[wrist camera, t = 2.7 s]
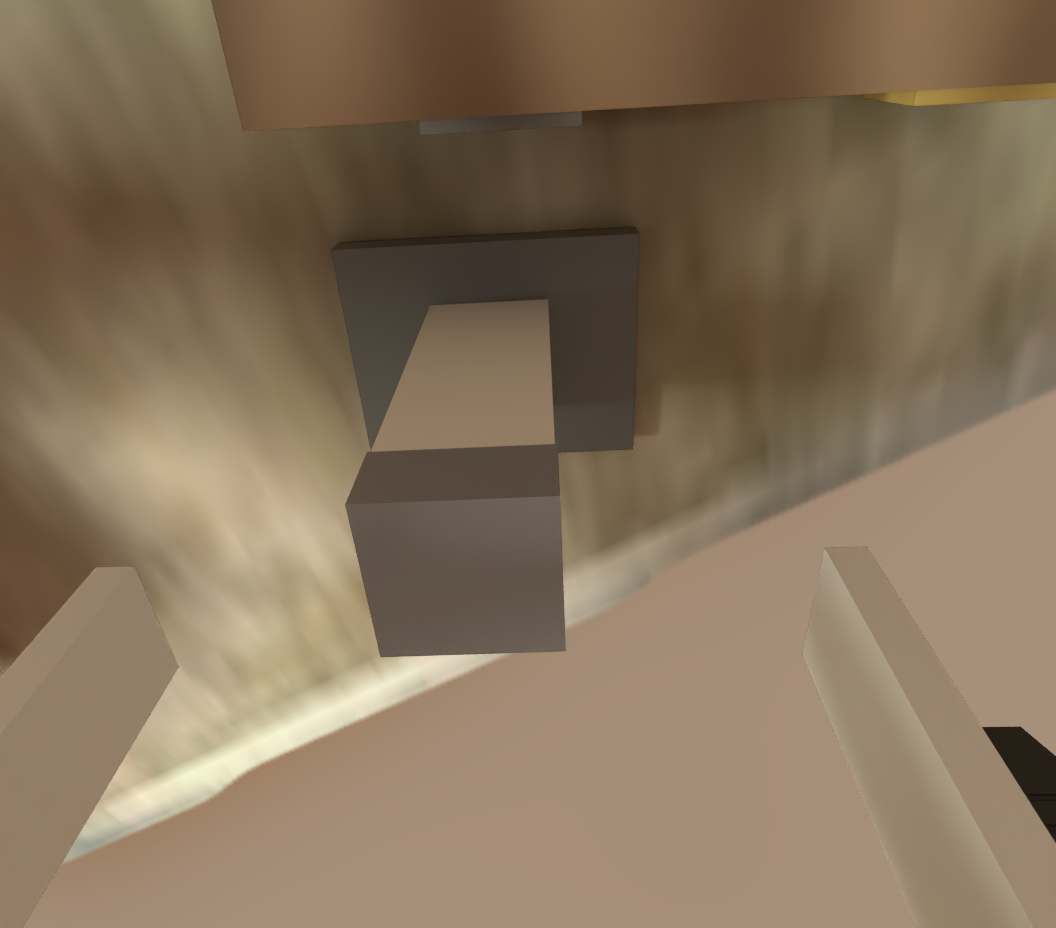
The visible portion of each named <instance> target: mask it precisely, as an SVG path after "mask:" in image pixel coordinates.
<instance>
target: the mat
mask: <svg viewBox="0 0 1056 928" xmlns="http://www.w3.org/2000/svg"><path fill="white" fill-rule="evenodd" d="M638 250H639V233H638V231H637V229H636V227H622V228H603V229H584V230H566V231H547V232H528V233H509V234H491V235H472V236H453V237H435V238H416V239H397V240H379V241H360V242H341V243H338V244H337V245H336V246H335V247H334V248H333V249H332V250H331V251H332V257H333V262H334V267H335V272H336V277H337V282H338V287H339V292H340V297H341V302H342V307H343V312H344V317H345V322H346V327H347V332H348V337H349V342H350V347H351V352H352V357H353V362H354V368H355V373H356V378H357V383H358V388H359V393H360V398H361V403H362V408H363V413H364V418H365V423H366V428H367V433H368V438H369V443H370V448H371V450H372V447H373V445H374V442H375V440H376V438H377V435H378V433H379V430H380V428H381V425H382V423H383V420H384V418H385V415H386V413H387V411H388V408H389V406H390V403H391V401H392V398H393V396H394V393H395V391H396V388H397V386H398V383H399V381H400V379H401V376H402V374H403V371H404V369H405V366H406V364H407V361H408V359H409V356H410V354H411V351H412V349H413V347H414V344H415V342H416V339H417V337H418V334H419V332H420V329H421V327H422V324H423V322H424V319H425V317H426V315H427V312H428V310H429V307H430V305H444V304H464V303H484V302H504V301H524V300H544V299H548V310H549V331H550V352H551V373H552V394H553V415H554V436H555V444H557V449H558V452H582V451H606V450H630V449H633V428H634V393H635V357H636V321H637V285H638Z"/></svg>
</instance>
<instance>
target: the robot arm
mask: <svg viewBox="0 0 1056 928" xmlns="http://www.w3.org/2000/svg"><path fill="white" fill-rule="evenodd" d="M802 655H803V658H804V660H805V663H806V665H807V667H808V670H809V672H810V675H811V677H812V679H813V682H814V684H815V687H816V689H817V691H818V694H819V696H820V699H821V701H822V703H823V706H824V708H825V711H826V713H827V715H828V718H829V720H830V722H831V725H832V727H833V730H834V732H835V734H836V737H837V739H838V742H839V744H840V746H841V749H842V751H843V754H844V756H845V759H846V761H847V763H848V766H849V768H850V770H851V773H852V775H853V777H854V780H855V782H856V785H857V787H858V790H859V792H860V794H861V797H862V799H863V801H864V804H865V806H866V809H867V811H868V814H869V816H870V818H871V821H872V823H873V825H874V828H875V830H876V833H877V835H878V838H879V840H880V842H881V845H882V847H883V850H884V852H885V854H886V857H887V859H888V862H889V864H890V866H891V869H892V871H893V873H894V876H895V878H896V880H897V883H898V886H899V888H900V890H901V893H902V895H903V898H904V900H905V902H906V905H907V907H908V910H909V912H910V914H911V917H912V919H913V921H914V924H915V926H916V928H1056V756H1054V754H1052V753H1051V752H1050V751H1049V750H1048V749H1046V748H1045V747H1044V746H1042V744H1040V743H1039V742H1038V741H1037V740H1036V739H1034V738H1033V737H1032V736H1031V735H1030V734H1028V733H1027V732H1026V731H1025V730H1024V729H1022V728H1021V727H981V725H980V723H979V722H978V720H977V719H976V717H975V716H974V714H973V712H972V711H971V709H970V708H969V706H968V705H967V703H966V701H965V700H964V698H963V697H962V695H961V694H960V692H959V690H958V689H957V687H956V686H955V684H954V683H953V681H952V679H951V678H950V677H949V675H948V673H947V672H946V670H945V669H944V667H943V665H942V664H941V662H940V661H939V659H938V658H937V656H936V654H935V653H934V651H933V650H932V648H931V646H930V645H929V643H928V642H927V640H926V639H925V637H924V636H923V634H922V632H921V631H920V629H919V628H918V626H917V625H916V623H915V621H914V620H913V618H912V617H911V615H910V614H909V612H908V610H907V609H906V607H905V606H904V604H903V602H902V601H901V599H900V598H899V596H898V595H897V593H896V591H895V590H894V588H893V587H892V585H891V584H890V582H889V580H888V579H887V577H886V576H885V574H884V573H883V571H882V569H881V568H880V566H879V565H878V563H877V562H876V560H875V559H874V557H873V555H872V554H871V552H870V551H869V549H868V547H838V548H824V553H823V557H822V562H821V567H820V572H819V577H818V581H817V586H816V591H815V596H814V600H813V605H812V610H811V615H810V620H809V624H808V629H807V634H806V638H805V643H804V648H803V653H802ZM178 667H179V666H178V664H177V662H176V659H175V657H174V655H173V653H172V650H171V648H170V646H169V644H168V641H167V639H166V637H165V635H164V632H163V630H162V628H161V626H160V623H159V621H158V619H157V617H156V614H155V612H154V610H153V608H152V605H151V603H150V601H149V599H148V596H147V594H146V592H145V590H144V587H143V585H142V583H141V581H140V579H139V576H138V574H137V572H136V570H135V567H134V566H128V567H96V568H95V569H94V570H93V571H92V572H91V574H90V575H89V576H88V577H87V578H86V579H85V580H84V582H83V583H82V584H81V585H80V586H79V587H78V589H77V590H76V591H75V592H74V593H73V594H72V595H71V597H70V598H69V599H68V600H67V601H66V602H65V603H64V605H63V606H62V607H61V608H60V609H59V610H58V612H57V613H56V614H55V615H54V616H53V617H52V618H51V620H50V621H49V622H48V623H47V624H46V625H45V627H44V628H43V629H42V630H41V631H40V632H39V633H38V635H37V636H36V637H35V638H34V639H33V640H32V642H31V643H30V644H29V645H28V646H27V647H26V648H25V650H24V651H23V652H22V653H21V654H20V655H19V656H18V658H17V659H16V660H15V661H14V662H13V663H12V665H11V666H10V667H9V668H8V669H7V670H6V671H5V673H4V674H3V675H2V676H1V677H0V928H23V927H24V926H25V924H26V922H27V920H28V919H29V917H30V916H31V914H32V912H33V910H34V909H35V907H36V905H37V904H38V902H39V900H40V899H41V897H42V895H43V894H44V892H45V890H46V889H47V887H48V885H49V884H50V881H51V880H52V879H53V877H54V875H55V874H56V872H57V870H58V869H59V867H60V865H61V863H62V862H63V860H64V858H65V857H66V855H67V853H68V852H69V850H70V848H71V847H72V845H73V843H74V842H75V840H76V838H77V837H78V835H79V833H80V832H81V830H82V828H83V827H84V825H85V823H86V822H87V820H88V818H89V816H90V815H91V813H92V811H93V810H94V808H95V806H96V805H97V803H98V801H99V800H100V798H101V796H102V795H103V793H104V791H105V790H106V788H107V786H108V785H109V783H110V781H111V780H112V778H113V776H114V774H115V773H116V771H117V769H118V768H119V766H120V764H121V763H122V761H123V759H124V758H125V756H126V754H127V753H128V751H129V749H130V748H131V746H132V744H133V743H134V741H135V739H136V738H137V736H138V734H139V733H140V731H141V729H142V727H143V726H144V724H145V722H146V721H147V719H148V717H149V716H150V714H151V712H152V711H153V709H154V707H155V706H156V704H157V702H158V701H159V699H160V697H161V696H162V694H163V692H164V691H165V689H166V687H167V686H168V684H169V682H170V680H171V679H172V677H173V675H174V674H175V672H176V670H177V669H178Z"/></svg>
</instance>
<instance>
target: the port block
mask: <svg viewBox="0 0 1056 928" xmlns="http://www.w3.org/2000/svg"><path fill="white" fill-rule="evenodd" d="M211 1H212V5H213V9H214V13H215V17H216V21H217V25H218V30H219V34H220V38H221V42H222V46H223V50H224V54H225V59H226V63H227V67H228V71H229V75H230V79H231V83H232V88H233V92H234V96H235V100H236V104H237V108H238V112H239V116H240V121H241V125H242V129H243V131H255V130H271V129H288V128H305V127H322V126H338V125H355V124H372V123H389V122H405V121H419V126H420V134H421V135H433V134H450V133H467V132H484V131H501V130H518V129H535V128H552V127H569V126H582V111H589V110H606V109H623V108H640V107H656V106H673V105H690V104H707V103H723V102H740V101H757V100H774V99H790V98H807V97H824V96H841V95H857V94H864V98H866V99H872V100H879V101H885V102H891V103H897V104H903V105H910V106H925V105H942V104H959V103H976V102H993V101H1010V100H1027V99H1044V98H1056V0H211Z"/></svg>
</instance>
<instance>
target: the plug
mask: <svg viewBox="0 0 1056 928" xmlns="http://www.w3.org/2000/svg"><path fill="white" fill-rule="evenodd" d="M345 505H346V510H347V514H348V518H349V523H350V527H351V531H352V536H353V540H354V544H355V549H356V553H357V557H358V562H359V566H360V570H361V575H362V579H363V583H364V588H365V592H366V596H367V600H368V605H369V609H370V613H371V618H372V622H373V626H374V631H375V635H376V639H377V644H378V648H379V652H380V657H399V656H431V655H463V654H495V653H525V652H556V651H566V649H565V619H564V592H563V564H562V537H561V509H560V486H559V468H558V449H557V444H555V436H554V415H553V394H552V373H551V352H550V331H549V310H548V299H544V300H524V301H504V302H484V303H464V304H444V305H430V307H429V310H428V312H427V315H426V317H425V319H424V322H423V324H422V327H421V329H420V332H419V334H418V337H417V339H416V342H415V344H414V347H413V349H412V351H411V354H410V356H409V359H408V361H407V364H406V366H405V369H404V371H403V374H402V376H401V379H400V381H399V383H398V386H397V388H396V391H395V393H394V396H393V398H392V401H391V403H390V406H389V408H388V411H387V413H386V415H385V418H384V420H383V423H382V425H381V428H380V430H379V433H378V435H377V438H376V440H375V442H374V445H373V447H372V450H371V452H367V454H366V456H365V458H364V461H363V463H362V466H361V468H360V470H359V473H358V475H357V478H356V480H355V483H354V485H353V487H352V490H351V492H350V495H349V497H348V499H347V502H346V504H345Z"/></svg>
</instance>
